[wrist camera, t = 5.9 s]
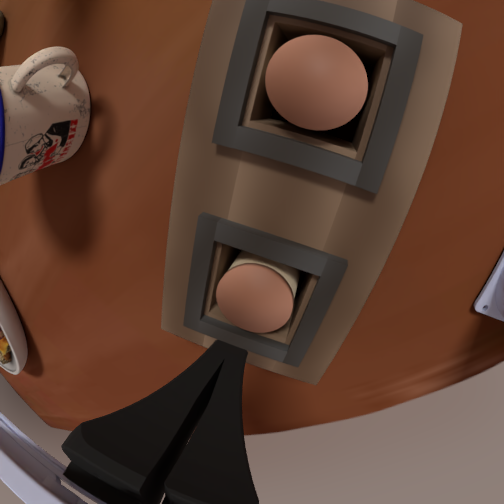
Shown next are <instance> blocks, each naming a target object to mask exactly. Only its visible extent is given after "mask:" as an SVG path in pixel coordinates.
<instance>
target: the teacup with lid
mask: <svg viewBox="0 0 504 504" xmlns="http://www.w3.org/2000/svg"><path fill="white" fill-rule="evenodd" d="M78 68H79V63H78V60H77V57H76V55H75V54H74V53H73V52H72V51H71V50H70V49H68V48H64V47H50V48H46V49H43V50H41V51H39V52H37V53H35V54H34V55H32V56H31V57H29V58H28V59H27V60H26V61H25V62H24V63H23V64H22V65H15V66H4V67H0V185H2V184H4V183H7V182H9V181H11V180H14V179H16V178H19V177H21V176H24V175H26V174H29V173H32V172H34V171H37V170H40V169H42V168H45V167H48V166H51V165H54V164H56V163H59V162H62V161H65V160H67V159H69V158H70V157H71V156H73V155H74V154H75V152H76V151H77V150H78V149H79V147H80V146H81V144H82V142H83V140H84V138H85V135H86V132H87V129H88V125H89V120H90V95H89V90H88V87H87V84H86V81H85V79H84V77H83V76H82V74H81V73H80V72H79V71H78Z"/></svg>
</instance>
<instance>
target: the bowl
mask: <svg viewBox="0 0 504 504" xmlns="http://www.w3.org/2000/svg"><path fill="white" fill-rule="evenodd" d="M27 355H28V349H27V341H26V337H25V333H24V330H23V327H22V324H21V321H20V319H19V316H18V314H17V312H16V309H15V307H14V305H13V303H12V301H11V299H10V297H9V295H8V293H7V291H6V289H5V287H4V285H3V283H2V281H1V279H0V366H1V367H2V368H3V369H5V370H6V371H8V372H9V373H11V374H15V375H16V374H19V373H20V371H21V370H22V369H23V368H24V366H25V364H26V361H27Z"/></svg>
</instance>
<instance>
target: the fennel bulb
mask: <svg viewBox="0 0 504 504" xmlns="http://www.w3.org/2000/svg"><path fill="white" fill-rule="evenodd" d="M3 26H4V15H3V13H2V12H1V11H0V36H1V35H2V32H3Z"/></svg>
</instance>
